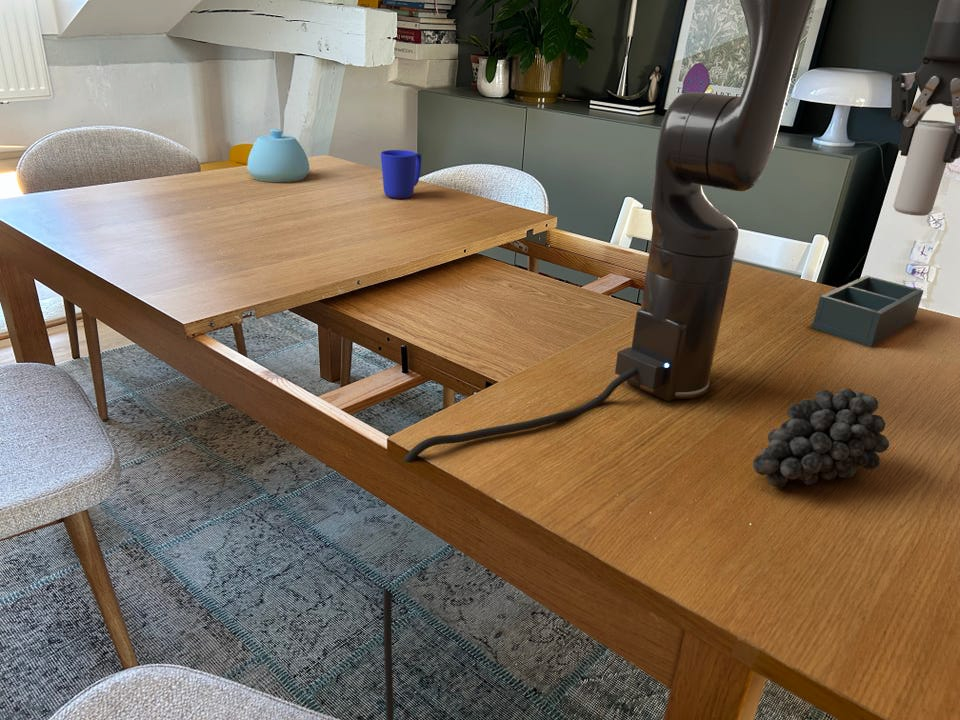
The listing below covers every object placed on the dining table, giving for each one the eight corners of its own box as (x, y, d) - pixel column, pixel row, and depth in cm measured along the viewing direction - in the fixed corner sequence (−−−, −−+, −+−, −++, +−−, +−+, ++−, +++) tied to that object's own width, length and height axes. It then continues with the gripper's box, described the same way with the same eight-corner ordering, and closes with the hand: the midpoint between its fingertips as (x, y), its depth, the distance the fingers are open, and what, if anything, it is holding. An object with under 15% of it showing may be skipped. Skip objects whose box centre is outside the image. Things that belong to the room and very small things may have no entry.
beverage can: (891, 213, 101) (917, 122, 96) (892, 206, 105) (917, 118, 100) (931, 218, 99) (959, 126, 94) (930, 211, 103) (957, 122, 98)
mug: (432, 193, 176) (433, 151, 172) (401, 202, 167) (401, 157, 163) (405, 188, 180) (405, 146, 176) (373, 196, 171) (373, 152, 167)
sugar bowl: (321, 175, 189) (319, 129, 184) (286, 186, 176) (283, 136, 172) (273, 169, 194) (269, 123, 189) (235, 178, 181) (231, 130, 176)
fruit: (787, 418, 64) (904, 386, 70) (720, 403, 71) (830, 376, 77) (792, 512, 65) (906, 474, 71) (725, 488, 73) (833, 455, 78)
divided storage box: (913, 321, 113) (923, 290, 111) (871, 347, 103) (881, 313, 101) (857, 304, 119) (865, 275, 117) (811, 327, 108) (819, 296, 106)
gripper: (896, 17, 94) (861, 153, 101) (1026, 22, 85) (977, 171, 92) (918, 18, 99) (883, 148, 106) (1043, 23, 89) (995, 165, 97)
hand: (927, 158), depth 99 cm, fingers closed on beverage can, 5 cm apart
